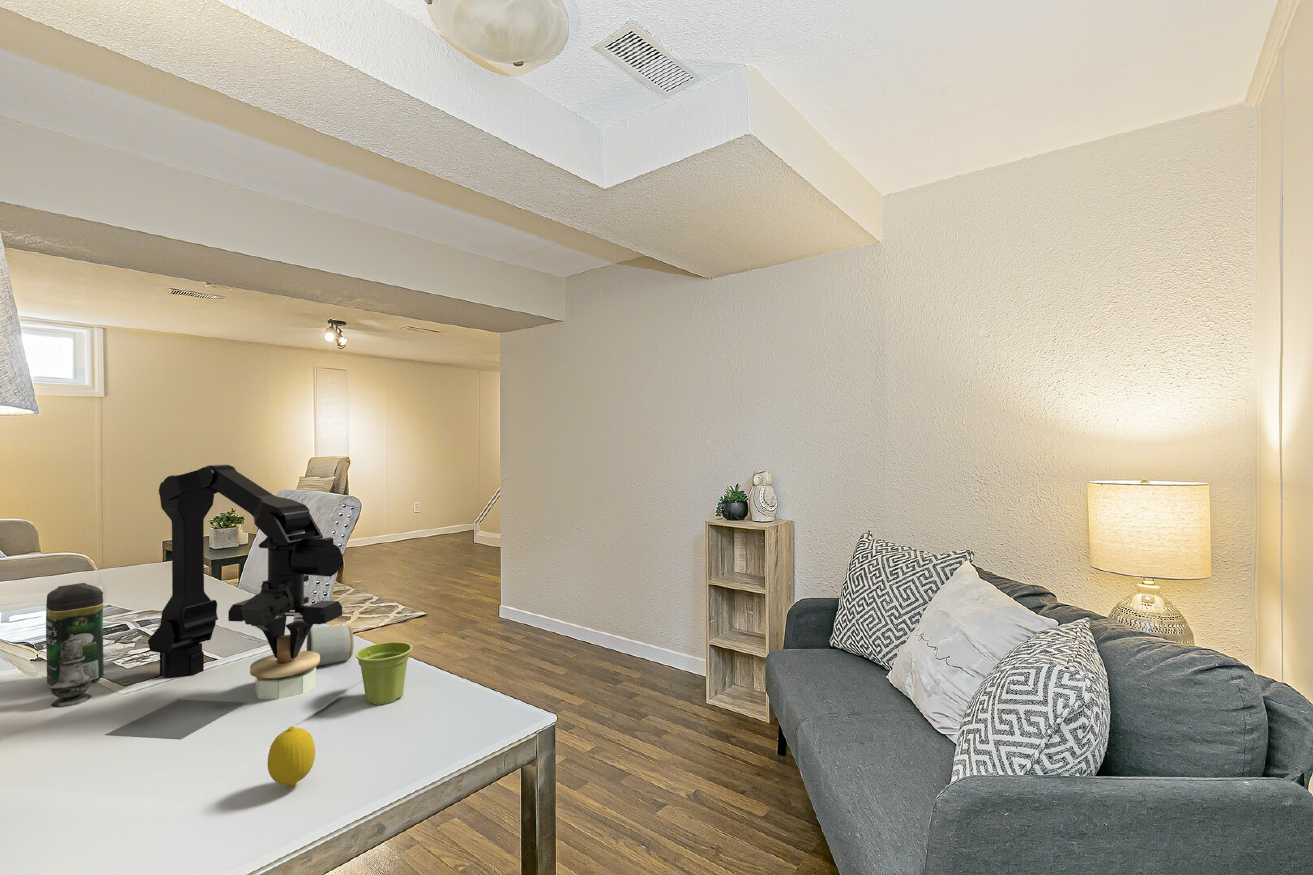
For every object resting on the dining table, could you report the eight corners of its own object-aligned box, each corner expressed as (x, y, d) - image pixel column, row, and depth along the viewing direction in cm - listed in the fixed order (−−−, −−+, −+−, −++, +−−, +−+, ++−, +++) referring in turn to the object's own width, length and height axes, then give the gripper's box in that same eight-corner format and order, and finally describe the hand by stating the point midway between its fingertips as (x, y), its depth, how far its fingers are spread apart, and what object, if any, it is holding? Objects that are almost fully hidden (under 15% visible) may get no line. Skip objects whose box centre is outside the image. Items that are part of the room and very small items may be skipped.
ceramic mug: (355, 663, 128) (355, 626, 128) (310, 672, 123) (310, 633, 124) (345, 650, 137) (345, 615, 137) (303, 658, 132) (302, 622, 132)
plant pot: (356, 713, 105) (356, 662, 105) (354, 693, 113) (354, 646, 113) (415, 702, 109) (414, 653, 109) (409, 684, 117) (409, 638, 117)
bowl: (243, 702, 109) (243, 680, 109) (281, 682, 118) (280, 661, 118) (292, 705, 108) (292, 682, 108) (325, 684, 117) (325, 663, 117)
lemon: (281, 776, 86) (280, 718, 86) (322, 774, 86) (322, 716, 86) (258, 799, 80) (258, 737, 80) (303, 797, 80) (303, 735, 80)
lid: (234, 676, 108) (234, 645, 108) (279, 654, 119) (279, 626, 119) (293, 679, 107) (293, 648, 107) (332, 656, 118) (332, 628, 118)
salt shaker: (101, 696, 112) (101, 630, 112) (61, 710, 106) (61, 640, 106) (80, 692, 114) (80, 627, 114) (40, 705, 108) (40, 637, 108)
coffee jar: (42, 681, 119) (42, 585, 119) (97, 669, 125) (97, 578, 125) (50, 694, 113) (50, 593, 113) (107, 681, 119) (107, 585, 119)
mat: (104, 740, 95) (104, 734, 95) (178, 704, 108) (178, 699, 108) (181, 745, 94) (181, 738, 94) (246, 708, 107) (246, 702, 107)
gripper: (202, 581, 106) (202, 672, 106) (303, 584, 104) (303, 676, 104) (251, 568, 117) (251, 649, 117) (344, 570, 115) (344, 653, 115)
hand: (286, 657), depth 113 cm, fingers closed on lid, 3 cm apart
